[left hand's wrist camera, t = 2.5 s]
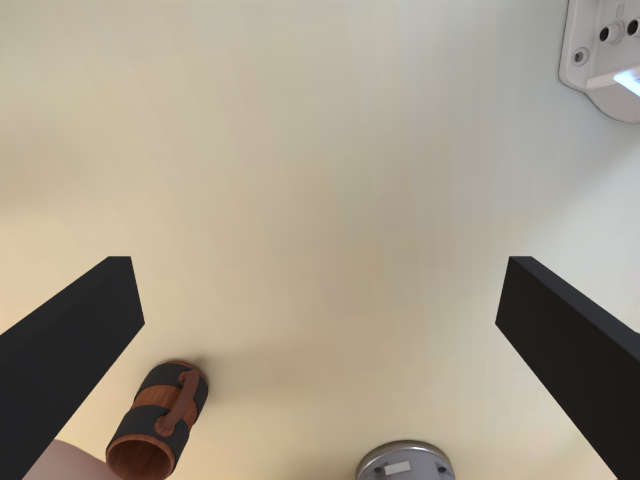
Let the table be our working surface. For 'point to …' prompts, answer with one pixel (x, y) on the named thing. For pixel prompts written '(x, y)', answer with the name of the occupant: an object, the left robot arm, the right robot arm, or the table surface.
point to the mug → (157, 423)
